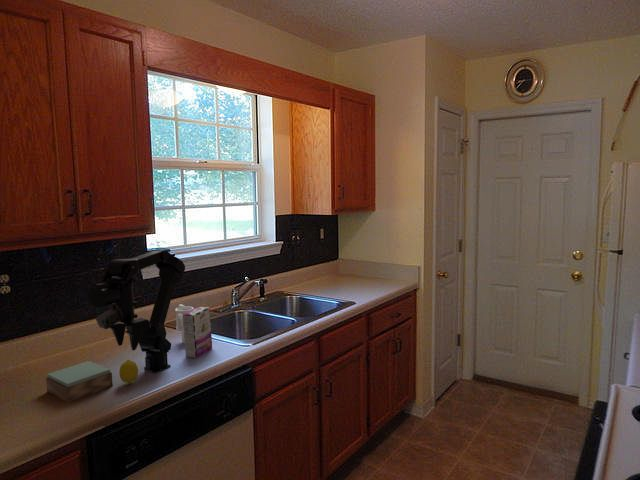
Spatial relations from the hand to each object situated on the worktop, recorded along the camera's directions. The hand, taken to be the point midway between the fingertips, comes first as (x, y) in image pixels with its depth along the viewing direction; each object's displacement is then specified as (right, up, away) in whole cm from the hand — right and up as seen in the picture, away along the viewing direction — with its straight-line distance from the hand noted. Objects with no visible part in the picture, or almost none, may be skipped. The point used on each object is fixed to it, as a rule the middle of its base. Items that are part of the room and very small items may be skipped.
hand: (127, 347), depth 149 cm
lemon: (0, -12, +1) cm, 12 cm away
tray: (-14, -13, -2) cm, 19 cm away
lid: (-14, -8, -2) cm, 16 cm away
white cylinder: (+7, -7, +41) cm, 42 cm away
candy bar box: (+15, -9, +29) cm, 34 cm away
